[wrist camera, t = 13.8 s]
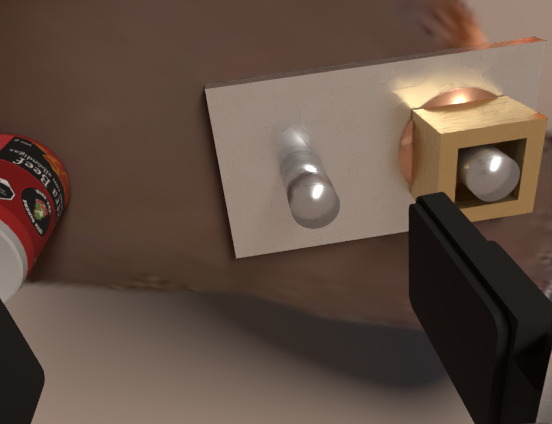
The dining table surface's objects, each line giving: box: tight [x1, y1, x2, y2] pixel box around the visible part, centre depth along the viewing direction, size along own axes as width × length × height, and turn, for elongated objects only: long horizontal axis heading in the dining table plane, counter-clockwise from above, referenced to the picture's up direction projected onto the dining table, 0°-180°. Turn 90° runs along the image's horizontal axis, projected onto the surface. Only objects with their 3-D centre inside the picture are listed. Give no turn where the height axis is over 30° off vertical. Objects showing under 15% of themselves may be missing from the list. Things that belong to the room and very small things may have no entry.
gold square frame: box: [411, 96, 548, 222], centre depth 35 cm, size 7×7×5 cm
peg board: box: [205, 37, 547, 258], centre depth 35 cm, size 14×24×8 cm, turn 97°
